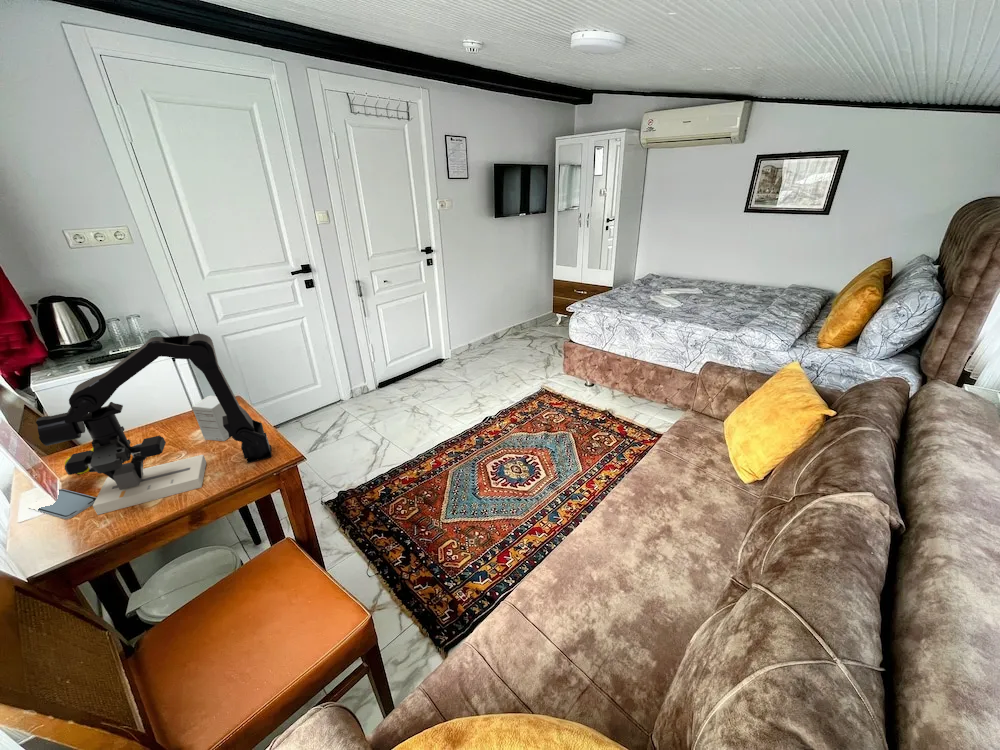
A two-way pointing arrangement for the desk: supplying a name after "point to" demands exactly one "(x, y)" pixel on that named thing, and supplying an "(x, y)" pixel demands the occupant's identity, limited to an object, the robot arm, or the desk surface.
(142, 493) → the block
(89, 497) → the smartphone
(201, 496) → the desk surface
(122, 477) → the block
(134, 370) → the robot arm
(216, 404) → the supplement box
